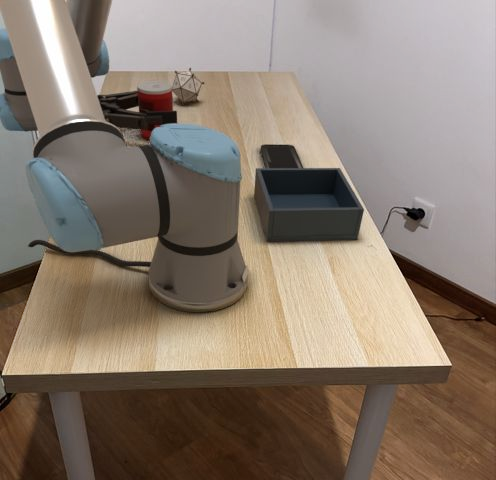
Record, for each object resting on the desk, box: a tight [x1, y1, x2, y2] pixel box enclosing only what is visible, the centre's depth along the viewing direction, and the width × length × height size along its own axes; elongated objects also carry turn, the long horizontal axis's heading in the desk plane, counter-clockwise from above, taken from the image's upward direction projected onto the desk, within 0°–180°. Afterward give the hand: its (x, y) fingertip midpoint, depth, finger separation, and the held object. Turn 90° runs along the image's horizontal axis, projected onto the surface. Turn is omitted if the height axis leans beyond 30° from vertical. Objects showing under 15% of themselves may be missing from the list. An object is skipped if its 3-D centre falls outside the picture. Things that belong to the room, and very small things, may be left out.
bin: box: [253, 167, 365, 243], centre depth 99 cm, size 17×17×6 cm
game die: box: [172, 67, 206, 106], centre depth 142 cm, size 9×8×10 cm
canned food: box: [136, 79, 174, 141], centre depth 123 cm, size 8×8×11 cm
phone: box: [260, 143, 304, 168], centre depth 118 cm, size 8×1×15 cm
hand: (173, 108), depth 123 cm, fingers open, 11 cm apart
